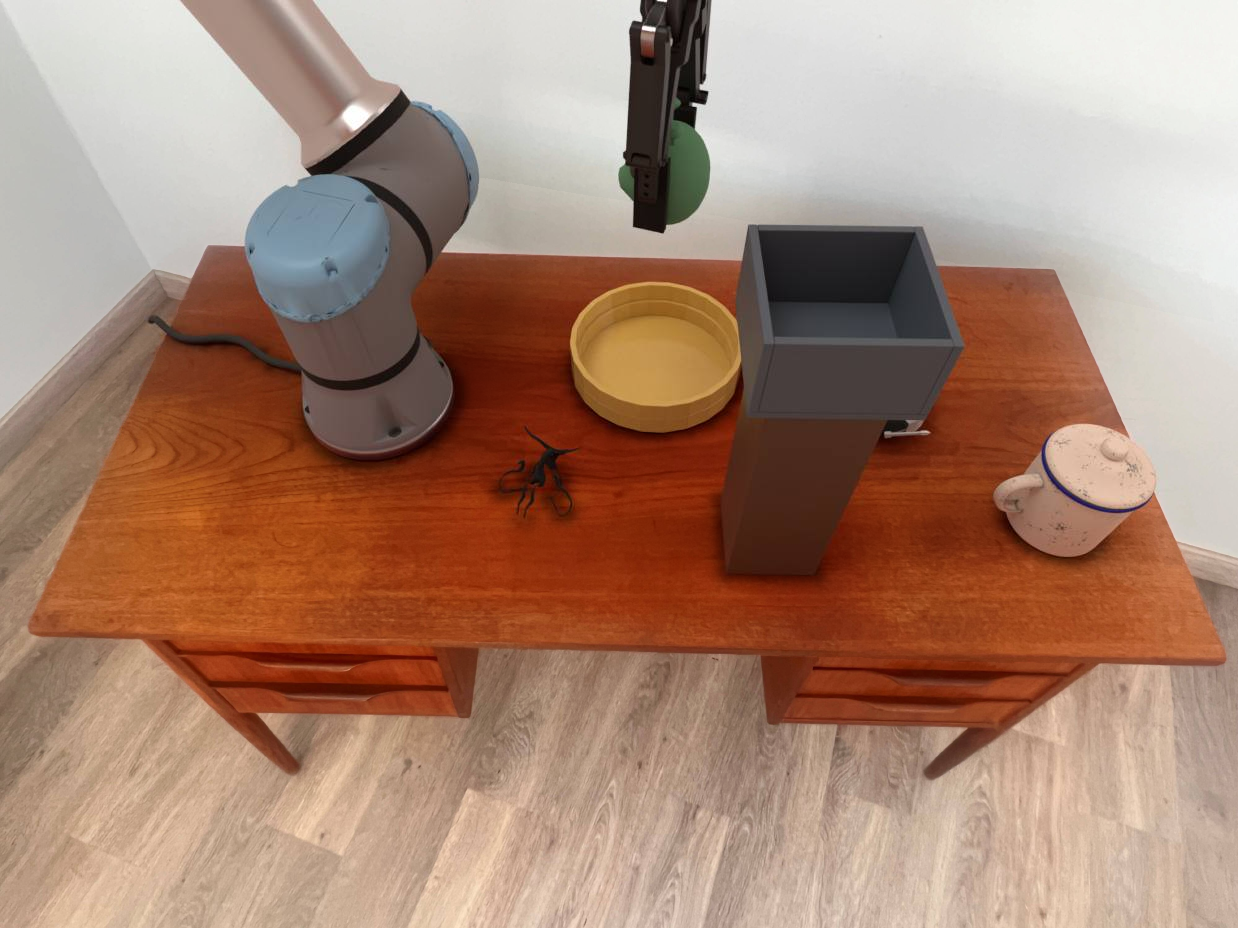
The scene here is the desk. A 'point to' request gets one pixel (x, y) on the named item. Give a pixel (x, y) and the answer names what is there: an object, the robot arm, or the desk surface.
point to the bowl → (655, 356)
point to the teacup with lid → (1077, 489)
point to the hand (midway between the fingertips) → (662, 201)
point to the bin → (825, 378)
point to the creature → (541, 472)
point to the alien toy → (680, 172)
